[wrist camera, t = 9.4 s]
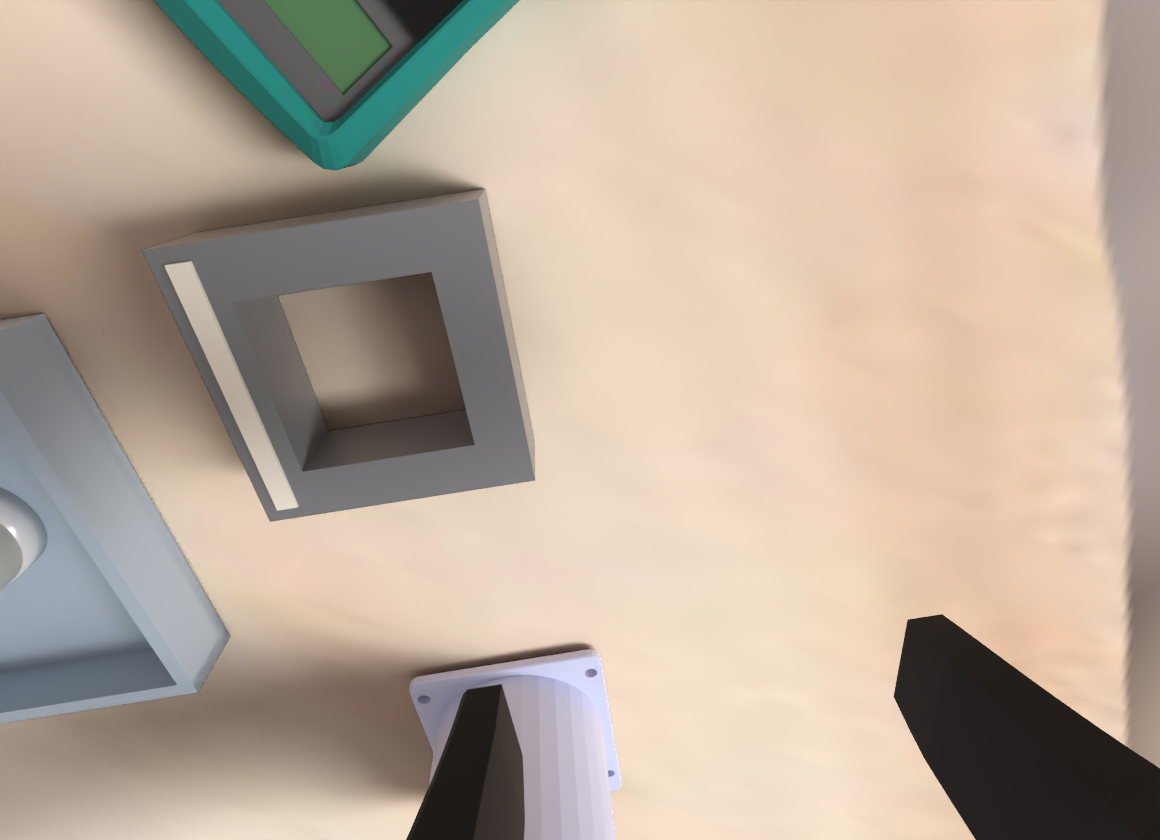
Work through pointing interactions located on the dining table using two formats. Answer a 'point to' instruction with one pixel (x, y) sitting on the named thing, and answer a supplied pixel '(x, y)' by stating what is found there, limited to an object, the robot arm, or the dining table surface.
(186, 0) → the digital multimeter
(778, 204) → the dining table surface
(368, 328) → the dining table surface
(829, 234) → the dining table surface
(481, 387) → the fuse block
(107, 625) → the parts tray
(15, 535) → the cylinder
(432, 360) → the dining table surface
